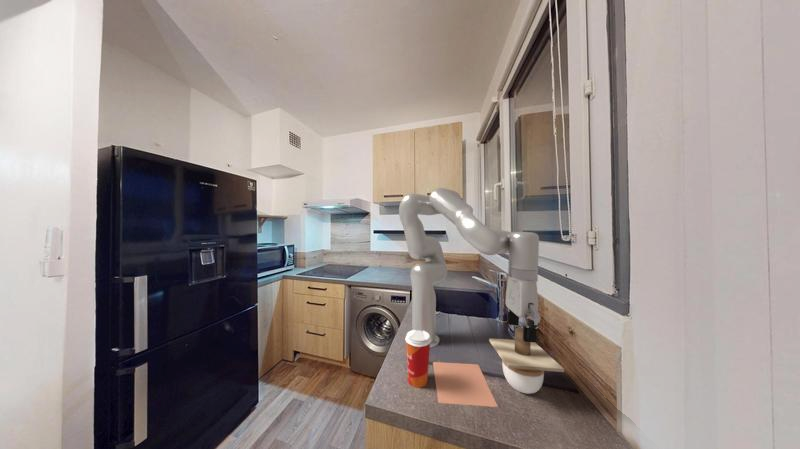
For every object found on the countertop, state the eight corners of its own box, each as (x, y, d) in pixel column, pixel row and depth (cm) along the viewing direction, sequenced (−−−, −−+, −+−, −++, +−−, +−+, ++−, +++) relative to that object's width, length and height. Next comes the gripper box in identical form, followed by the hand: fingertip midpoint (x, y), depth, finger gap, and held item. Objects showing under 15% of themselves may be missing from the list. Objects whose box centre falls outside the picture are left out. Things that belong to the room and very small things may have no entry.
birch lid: (489, 340, 70) (489, 319, 70) (533, 343, 69) (534, 322, 70) (508, 368, 56) (508, 341, 56) (564, 372, 55) (564, 345, 56)
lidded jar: (551, 405, 56) (552, 369, 56) (507, 398, 58) (507, 363, 59) (534, 377, 67) (535, 347, 67) (497, 372, 69) (498, 342, 69)
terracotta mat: (432, 363, 73) (432, 361, 73) (478, 366, 72) (478, 364, 72) (438, 405, 56) (438, 402, 56) (497, 409, 55) (497, 406, 55)
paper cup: (406, 371, 68) (407, 327, 69) (431, 375, 67) (432, 330, 67) (402, 390, 61) (403, 340, 61) (429, 394, 59) (430, 343, 59)
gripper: (497, 267, 72) (496, 318, 72) (524, 281, 55) (521, 348, 55) (521, 268, 71) (519, 320, 72) (555, 282, 54) (552, 350, 54)
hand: (520, 332), depth 63 cm, fingers open, 9 cm apart
